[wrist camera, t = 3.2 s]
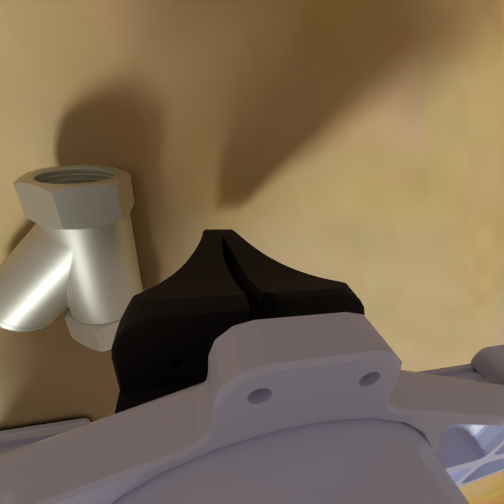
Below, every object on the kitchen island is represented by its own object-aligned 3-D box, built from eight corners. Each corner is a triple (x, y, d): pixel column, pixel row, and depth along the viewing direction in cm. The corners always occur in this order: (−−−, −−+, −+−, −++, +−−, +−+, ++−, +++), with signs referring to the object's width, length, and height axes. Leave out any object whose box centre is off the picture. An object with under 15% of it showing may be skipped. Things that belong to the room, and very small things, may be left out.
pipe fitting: (31, 303, 15) (154, 299, 16) (-20, 361, 12) (139, 352, 13) (-33, 157, 11) (135, 165, 12) (-139, 182, 8) (106, 190, 9)
